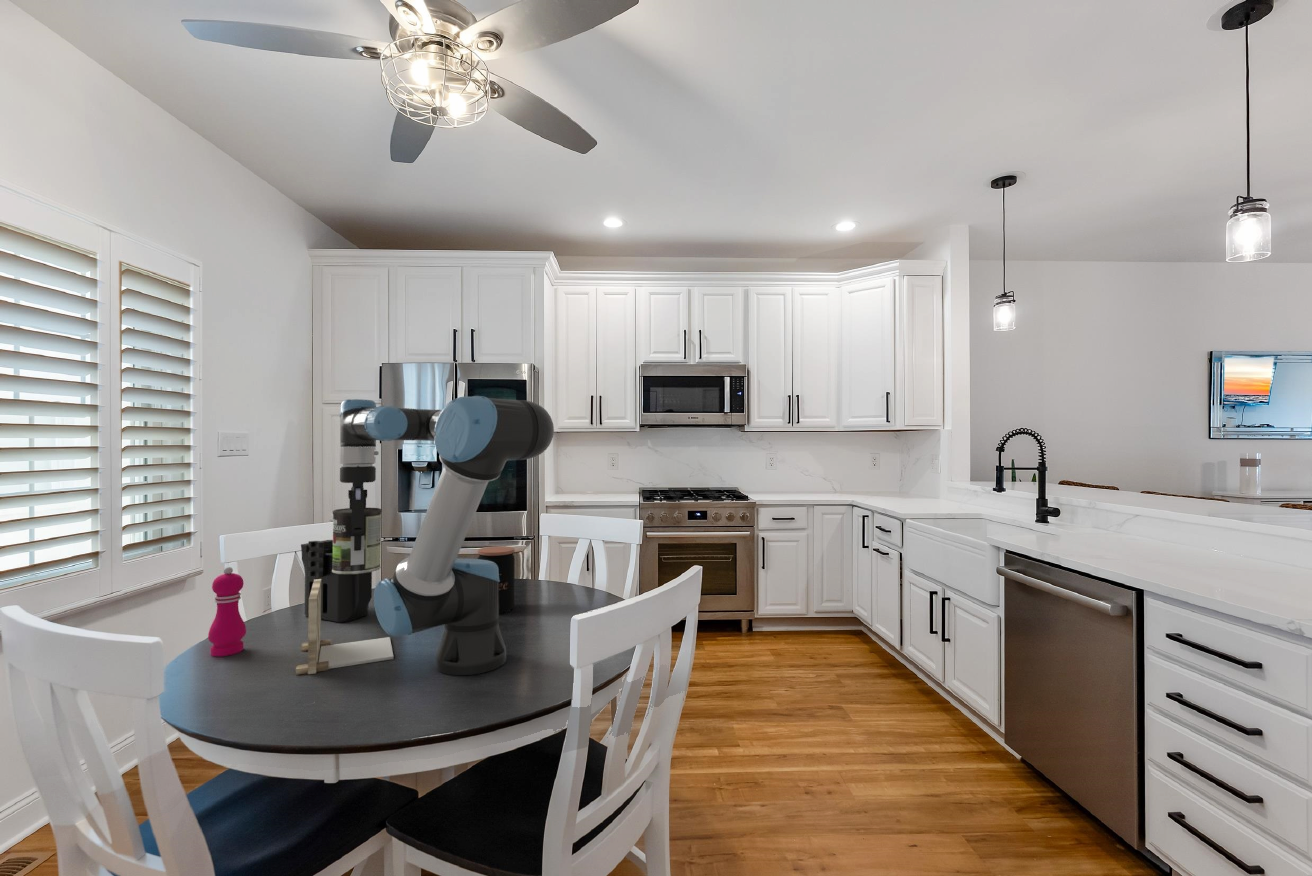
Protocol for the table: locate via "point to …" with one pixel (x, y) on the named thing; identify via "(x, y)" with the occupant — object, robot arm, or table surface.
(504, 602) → the coffee jar
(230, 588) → the pepper mill
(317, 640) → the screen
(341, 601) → the black machined bracket
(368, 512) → the coffee can
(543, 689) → the table surface
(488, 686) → the table surface
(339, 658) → the mat
